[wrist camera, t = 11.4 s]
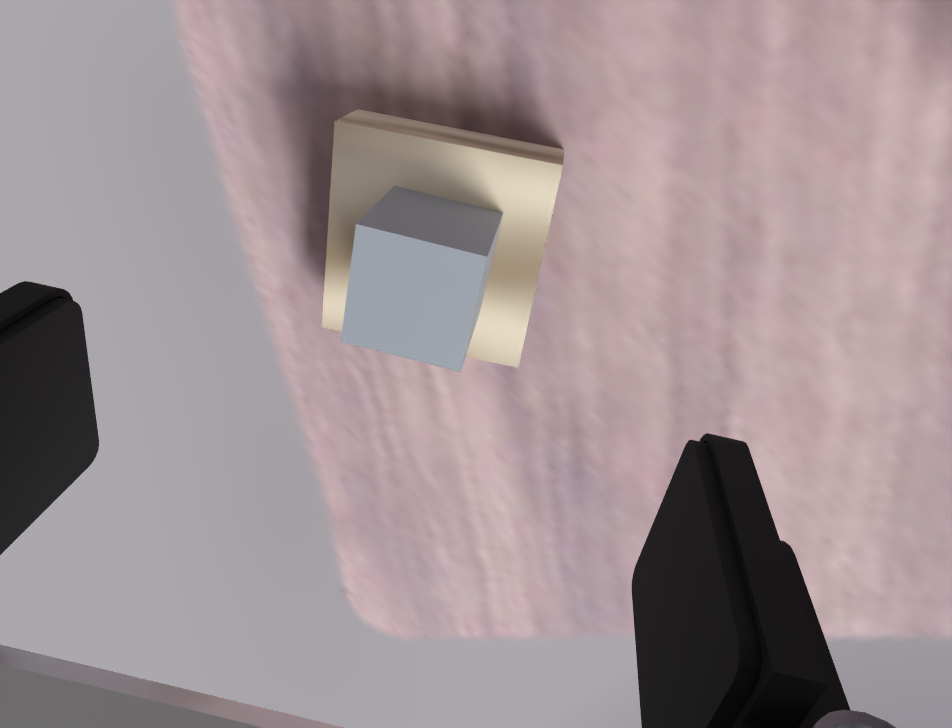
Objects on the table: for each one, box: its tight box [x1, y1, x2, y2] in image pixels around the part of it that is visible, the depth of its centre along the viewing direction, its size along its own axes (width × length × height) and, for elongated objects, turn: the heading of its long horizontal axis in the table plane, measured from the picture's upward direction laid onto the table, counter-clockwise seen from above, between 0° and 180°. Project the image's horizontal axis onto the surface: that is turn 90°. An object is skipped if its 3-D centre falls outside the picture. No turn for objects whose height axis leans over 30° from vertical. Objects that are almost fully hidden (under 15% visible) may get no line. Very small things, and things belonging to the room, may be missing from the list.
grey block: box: [341, 186, 503, 372], centre depth 29 cm, size 5×5×6 cm
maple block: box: [322, 109, 564, 367], centre depth 34 cm, size 10×10×4 cm
